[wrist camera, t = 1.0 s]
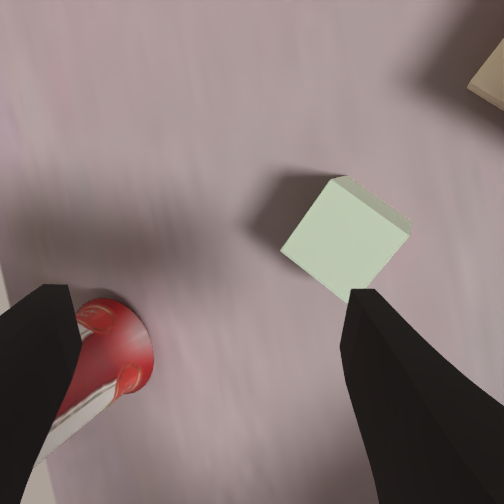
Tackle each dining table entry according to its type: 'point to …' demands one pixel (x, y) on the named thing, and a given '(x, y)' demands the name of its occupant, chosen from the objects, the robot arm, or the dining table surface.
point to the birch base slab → (491, 78)
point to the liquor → (102, 367)
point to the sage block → (347, 237)
